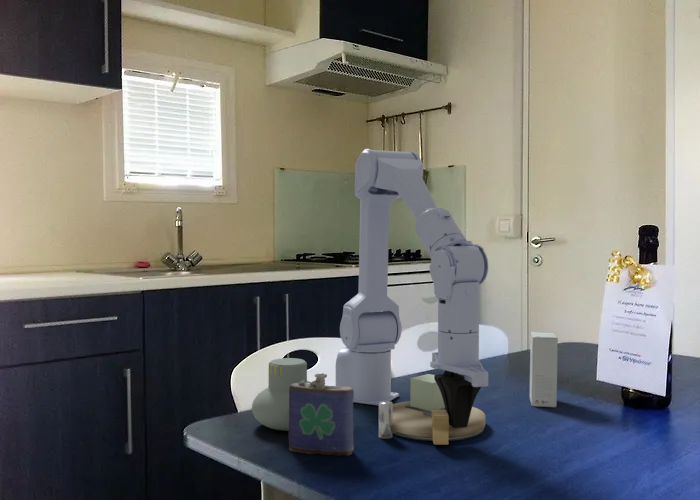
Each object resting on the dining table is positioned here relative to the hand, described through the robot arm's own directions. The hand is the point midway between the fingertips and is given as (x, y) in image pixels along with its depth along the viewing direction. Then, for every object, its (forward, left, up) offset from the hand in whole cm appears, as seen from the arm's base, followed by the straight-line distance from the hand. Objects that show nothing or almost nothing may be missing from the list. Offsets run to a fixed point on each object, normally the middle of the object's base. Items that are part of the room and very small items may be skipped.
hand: (457, 426), depth 94 cm
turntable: (-6, +6, -2) cm, 9 cm away
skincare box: (+7, +27, -3) cm, 29 cm away
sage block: (-8, +10, 0) cm, 12 cm away
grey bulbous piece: (-26, -4, -3) cm, 26 cm away
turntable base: (-6, +6, -2) cm, 9 cm away
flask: (-16, -12, -3) cm, 20 cm away
